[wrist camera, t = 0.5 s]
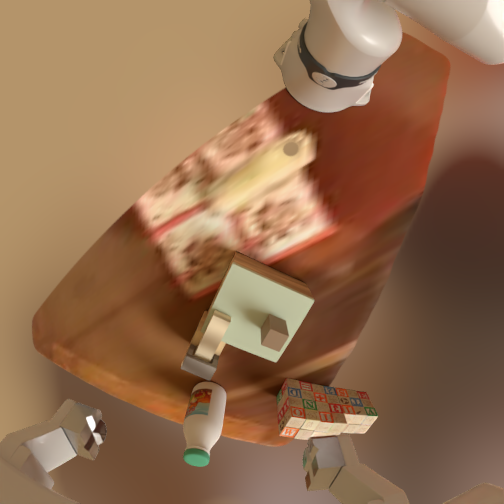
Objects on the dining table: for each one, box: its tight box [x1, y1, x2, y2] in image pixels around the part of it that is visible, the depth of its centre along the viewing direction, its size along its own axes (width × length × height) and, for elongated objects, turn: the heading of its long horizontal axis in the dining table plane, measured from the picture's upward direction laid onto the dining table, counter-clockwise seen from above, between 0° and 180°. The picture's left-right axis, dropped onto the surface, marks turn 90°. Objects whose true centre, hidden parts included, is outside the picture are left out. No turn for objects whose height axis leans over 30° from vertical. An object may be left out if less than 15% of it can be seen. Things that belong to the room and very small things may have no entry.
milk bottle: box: [183, 382, 226, 466], centre depth 47 cm, size 8×8×20 cm
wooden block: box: [194, 310, 231, 363], centre depth 43 cm, size 9×3×2 cm, turn 155°
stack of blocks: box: [277, 378, 378, 440], centre depth 51 cm, size 21×6×12 cm, turn 72°
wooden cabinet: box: [181, 251, 313, 381], centre depth 47 cm, size 22×15×12 cm
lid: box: [201, 262, 315, 362], centre depth 42 cm, size 13×14×6 cm
